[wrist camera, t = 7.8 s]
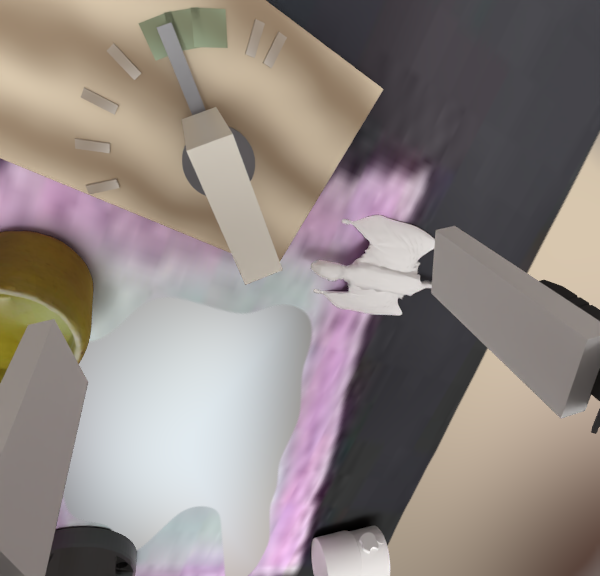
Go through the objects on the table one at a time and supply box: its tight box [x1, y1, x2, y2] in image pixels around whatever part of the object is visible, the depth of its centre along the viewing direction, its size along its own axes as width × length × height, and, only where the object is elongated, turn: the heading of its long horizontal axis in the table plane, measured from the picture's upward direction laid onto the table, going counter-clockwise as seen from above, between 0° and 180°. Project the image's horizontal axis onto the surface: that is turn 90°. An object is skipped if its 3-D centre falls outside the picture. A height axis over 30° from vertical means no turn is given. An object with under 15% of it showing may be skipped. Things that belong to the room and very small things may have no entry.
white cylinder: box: [311, 526, 390, 576], centre depth 63 cm, size 12×9×8 cm
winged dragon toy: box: [311, 215, 435, 316], centre depth 40 cm, size 18×10×4 cm, turn 70°
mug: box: [0, 231, 93, 383], centre depth 30 cm, size 12×10×10 cm
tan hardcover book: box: [0, 0, 383, 261], centre depth 28 cm, size 16×22×3 cm
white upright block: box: [156, 23, 282, 285], centre depth 24 cm, size 5×12×10 cm, turn 16°
